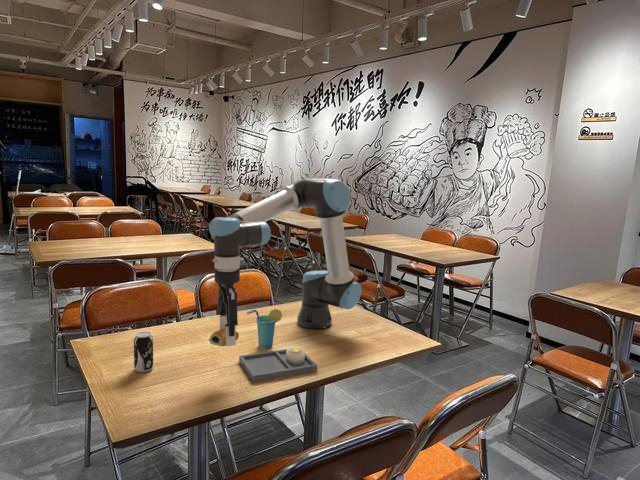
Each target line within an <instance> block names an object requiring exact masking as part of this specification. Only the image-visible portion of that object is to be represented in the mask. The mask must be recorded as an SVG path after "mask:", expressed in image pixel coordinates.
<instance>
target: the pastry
mask: <svg viewBox="0 0 640 480" xmlns="http://www.w3.org/2000/svg"><path fill="white" fill-rule="evenodd" d="M238 339H239V332H238V331H236V341H238ZM208 342H209V343H210V345H213V346H218V347H227V346H226V330H220V329H219V330H217V331H213V333H211V334H210V336H209V338H208Z"/></svg>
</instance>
